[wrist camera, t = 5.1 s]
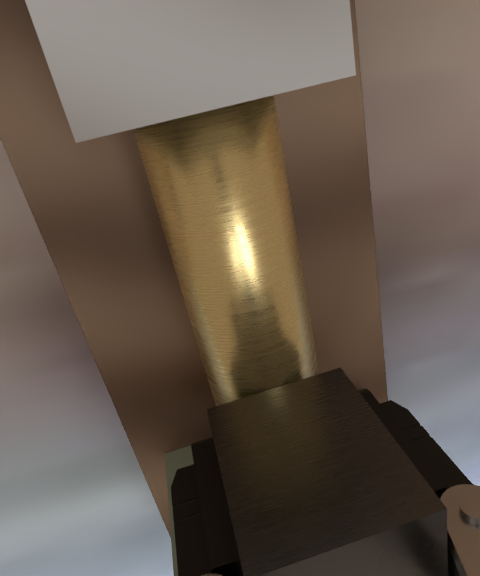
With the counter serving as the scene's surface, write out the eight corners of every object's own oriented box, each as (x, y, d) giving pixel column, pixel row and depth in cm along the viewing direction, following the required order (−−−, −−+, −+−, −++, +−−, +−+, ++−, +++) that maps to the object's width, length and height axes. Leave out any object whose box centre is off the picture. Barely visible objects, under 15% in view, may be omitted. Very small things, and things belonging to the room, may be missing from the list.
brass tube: (69, -59, 10) (-105, -453, 3) (230, -90, 10) (436, -508, 3) (236, 486, 17) (303, 754, 10) (325, 456, 17) (449, 695, 10)
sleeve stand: (-203, -395, 9) (-932, -1448, 3) (285, -448, 10) (514, -1291, 4) (170, 512, 20) (184, 685, 14) (376, 442, 21) (469, 577, 15)
